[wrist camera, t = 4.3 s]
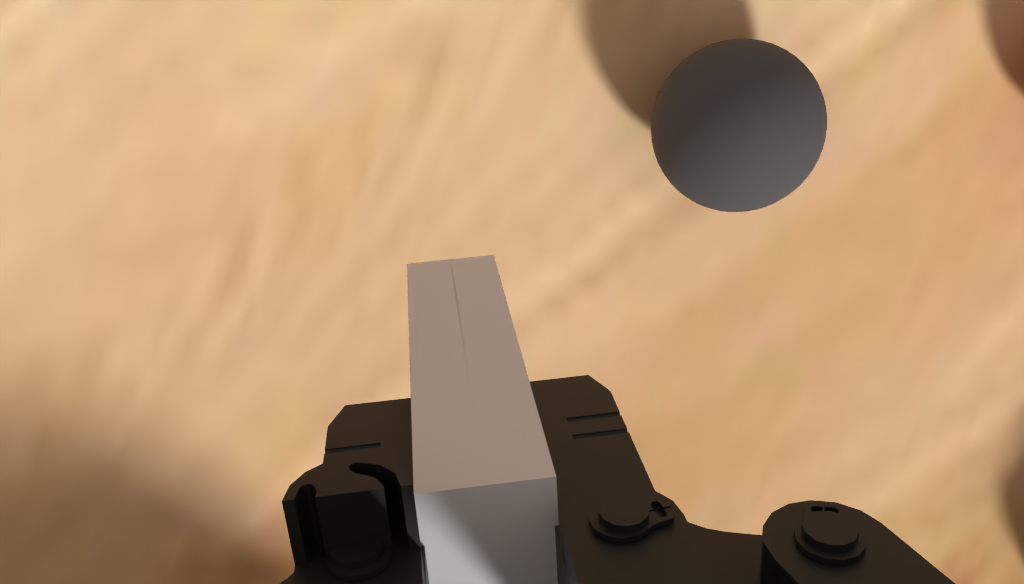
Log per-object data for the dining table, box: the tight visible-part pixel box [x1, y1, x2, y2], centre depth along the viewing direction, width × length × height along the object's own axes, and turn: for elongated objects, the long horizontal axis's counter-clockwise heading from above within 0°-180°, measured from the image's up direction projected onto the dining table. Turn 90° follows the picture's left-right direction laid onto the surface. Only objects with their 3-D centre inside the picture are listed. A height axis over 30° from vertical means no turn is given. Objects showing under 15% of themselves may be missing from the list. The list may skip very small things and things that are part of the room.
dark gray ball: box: [651, 39, 827, 212], centre depth 28 cm, size 6×6×6 cm
